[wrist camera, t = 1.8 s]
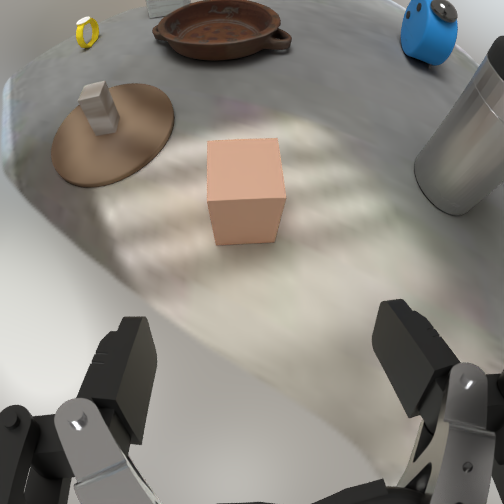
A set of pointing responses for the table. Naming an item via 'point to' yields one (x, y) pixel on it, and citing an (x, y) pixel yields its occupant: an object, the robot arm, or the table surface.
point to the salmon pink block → (245, 190)
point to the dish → (222, 29)
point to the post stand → (112, 133)
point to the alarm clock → (429, 30)
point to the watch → (80, 31)
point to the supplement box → (164, 6)
